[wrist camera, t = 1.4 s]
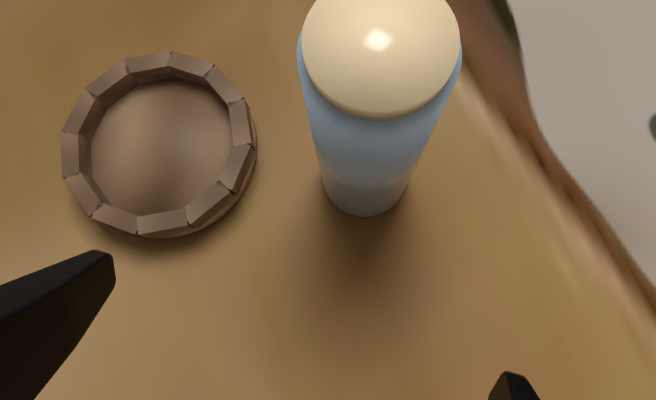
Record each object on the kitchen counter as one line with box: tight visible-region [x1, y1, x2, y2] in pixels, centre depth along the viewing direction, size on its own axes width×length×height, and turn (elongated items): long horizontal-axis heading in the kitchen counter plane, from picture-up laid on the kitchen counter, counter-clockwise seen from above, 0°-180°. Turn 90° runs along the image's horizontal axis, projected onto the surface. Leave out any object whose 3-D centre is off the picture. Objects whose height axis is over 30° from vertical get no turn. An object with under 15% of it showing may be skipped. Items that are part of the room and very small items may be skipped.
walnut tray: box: [61, 51, 257, 239], centre depth 24 cm, size 10×10×2 cm
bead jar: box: [297, 0, 462, 217], centre depth 18 cm, size 5×5×13 cm
